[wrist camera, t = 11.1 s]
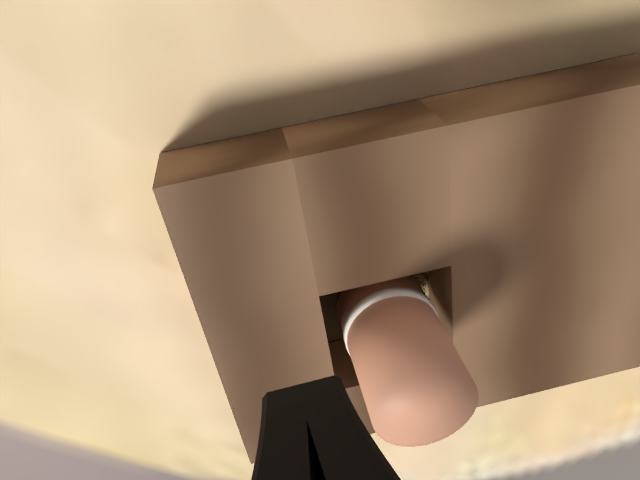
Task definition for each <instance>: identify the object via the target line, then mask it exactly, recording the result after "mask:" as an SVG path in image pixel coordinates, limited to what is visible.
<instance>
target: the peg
mask: <svg viewBox="0 0 640 480" xmlns="http://www.w3.org/2000/svg"><path fill="white" fill-rule="evenodd" d="M337 315H338V318H339V321H340V325H341V328H342V331H343V338H344V342H345V345H346V348H347V351H348V353H349V355H350V356H351V359H352V363H353V366H354V369H355V372H356V375H357V378H358V382H359V385H360V388H361V391H362V394H363V397H364V400H365V404H366V407H367V410H368V413H369V416H370V419H371V423H372V426H373V428H374V430H375V432H376V433H377V435H378V436H379V437H380V438H381V439H383V440H384V441H386V442H388V443H390V444H394V445H398V446H406V447H414V446H422V445H427V444H431V443H434V442H437V441H439V440H442V439H444V438H446V437H448V436H450V435H451V434H453V433H454V432H456V431H457V430H459V429H460V428H461V427H462V426H463V425H464V424H465V423H466V422H467V421H468V420H469V419H470V417H471V416H472V415H473V413H474V411H475V409H476V407H477V404H478V398H479V394H478V389H477V386H476V384H475V382H474V380H473V379H472V377H471V375H470V373H469V371H468V370H467V368H466V366H465V364H464V363H463V361H462V359H461V357H460V355H459V354H458V352H457V350H456V348H455V347H454V345H453V343H452V341H451V340H450V338H449V336H448V334H447V332H446V331H445V329H444V327H443V325H442V324H441V322H440V320H439V317H438V314H437V312H436V310H435V308H434V306H433V304H432V303H431V301H430V300H429V299H428V298H427V297H426V295H425V293H424V292H423V290H422V288H421V286H420V284H419V283H418V281H417V280H416V278H415V277H414V276H413V275H409V276H405V277H401V278H396V279H392V280H388V281H383V282H379V283H375V284H370V285H366V286H362V287H357V288H353V289H349V290H344V291H342V292H341V294H340V296H339V299H338V302H337Z"/></svg>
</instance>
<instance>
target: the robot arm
mask: <svg viewBox="0 0 640 480" xmlns="http://www.w3.org/2000/svg"><path fill="white" fill-rule="evenodd" d="M251 480H401V479H400V478H399V477H398V475H397V474H396V472H395V471H394V469H393V468H392V467H391V465H390V464H389V462H388V461H387V459H386V458H385V457H384V455H383V454H382V452H381V451H380V449H379V448H378V446H377V445H376V443H375V442H374V440H373V438H372V437H371V435H370V434H369V432H368V430H367V429H366V427H365V425H364V424H363V422H362V420H361V419H360V417H359V415H358V413H357V411H356V410H355V408H354V406H353V404H352V402H351V400H350V398H349V396H348V394H347V392H346V390H345V387H344V385H343V382H342V379H341V378H339V377H337V376H335V375H333V376H329V377H325V378H322V379H318V380H314V381H310V382H306V383H302V384H298V385H294V386H290V387H286V388H282V389H278V390H274V391H270V392H267V393H266V394H265V396H264V397H263V398H262V414H261V424H260V433H259V440H258V447H257V452H256V458H255V464H254V470H253V474H252V479H251Z"/></svg>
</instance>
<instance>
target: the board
mask: <svg viewBox="0 0 640 480" xmlns="http://www.w3.org/2000/svg"><path fill="white" fill-rule="evenodd" d="M152 189H153V191H154V194H155V197H156V200H157V203H158V205H159V208H160V211H161V214H162V217H163V219H164V222H165V225H166V228H167V231H168V233H169V236H170V239H171V242H172V244H173V247H174V250H175V253H176V256H177V258H178V261H179V264H180V267H181V270H182V272H183V275H184V278H185V281H186V284H187V286H188V289H189V292H190V295H191V298H192V300H193V303H194V306H195V309H196V312H197V314H198V317H199V320H200V323H201V325H202V328H203V331H204V334H205V337H206V339H207V342H208V345H209V348H210V351H211V353H212V356H213V359H214V362H215V365H216V367H217V370H218V373H219V376H220V379H221V381H222V384H223V387H224V390H225V393H226V395H227V398H228V401H229V404H230V406H231V409H232V412H233V415H234V418H235V420H236V423H237V426H238V429H239V432H240V434H241V437H242V440H243V443H244V446H245V448H246V451H247V454H248V457H249V460H250V462H251V464H252V463H255V458H256V452H257V447H258V440H259V433H260V424H261V414H262V398H263V397H264V396H265V394H266V393H267V392H270V391H274V390H278V389H282V388H286V387H290V386H294V385H298V384H302V383H306V382H310V381H314V380H318V379H322V378H325V377H329V376H333V375H335V376H337V377H339V378H341V379H342V382H343V385H344V387H345V390H346V392H347V394H348V396H349V398H350V400H351V402H352V404H353V406H354V408H355V410H356V411H357V413H358V415H359V417H360V419H361V420H362V422H363V424H364V425H365V427H366V429H367V430H368V432H369V434H372V433H376V432H375V430H374V428H373V426H372V423H371V419H370V416H369V413H368V410H367V407H366V404H365V400H364V397H363V394H362V391H361V388H360V385H359V382H358V378H357V375H356V372H355V369H354V366H353V363H352V359H351V356H350V355H349V353H348V351H347V348H346V345H345V342H344V340H340V341H336V342H332V343H328V340H327V335H326V330H325V325H324V320H323V315H322V310H321V304H320V299H319V296H323V295H327V294H331V293H336V292H340V291H344V290H349V289H353V288H357V287H362V286H366V285H370V284H375V283H379V282H383V281H388V280H392V279H396V278H401V277H405V276H409V275H413V274H418V273H422V272H426V271H428V286H429V300H430V301H431V303H432V304H433V306H434V308H435V310H436V312H437V314H438V317H439V320H440V322H441V324H442V325H443V327H444V329H445V331H446V332H447V334H448V336H449V338H450V340H451V341H452V343H453V345H454V347H455V348H456V350H457V352H458V354H459V355H460V357H461V359H462V361H463V363H464V364H465V366H466V368H467V370H468V371H469V373H470V375H471V377H472V379H473V380H474V382H475V384H476V386H477V389H478V394H479V398H478V404H477V407H480V406H484V405H488V404H492V403H496V402H500V401H504V400H508V399H512V398H516V397H520V396H524V395H528V394H532V393H536V392H540V391H543V390H547V389H551V388H555V387H559V386H563V385H567V384H571V383H575V382H579V381H583V380H587V379H591V378H595V377H599V376H603V375H607V374H611V373H615V372H619V371H623V370H627V369H631V368H635V367H639V366H640V53H637V54H632V55H627V56H622V57H618V58H613V59H608V60H603V61H598V62H594V63H589V64H584V65H579V66H574V67H570V68H565V69H560V70H555V71H551V72H546V73H541V74H536V75H531V76H527V77H522V78H517V79H512V80H508V81H503V82H498V83H493V84H488V85H484V86H479V87H474V88H469V89H464V90H460V91H455V92H450V93H445V94H441V95H436V96H431V97H426V98H421V99H417V100H412V101H407V102H402V103H398V104H393V105H388V106H383V107H378V108H374V109H369V110H364V111H359V112H354V113H350V114H345V115H340V116H335V117H331V118H326V119H321V120H316V121H311V122H307V123H302V124H297V125H292V126H288V127H283V128H278V129H273V130H268V131H264V132H259V133H254V134H249V135H245V136H240V137H235V138H230V139H225V140H221V141H216V142H211V143H206V144H201V145H197V146H192V147H187V148H182V149H178V150H173V151H168V152H163V153H160V155H159V159H158V164H157V169H156V174H155V179H154V184H153V188H152Z"/></svg>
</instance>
